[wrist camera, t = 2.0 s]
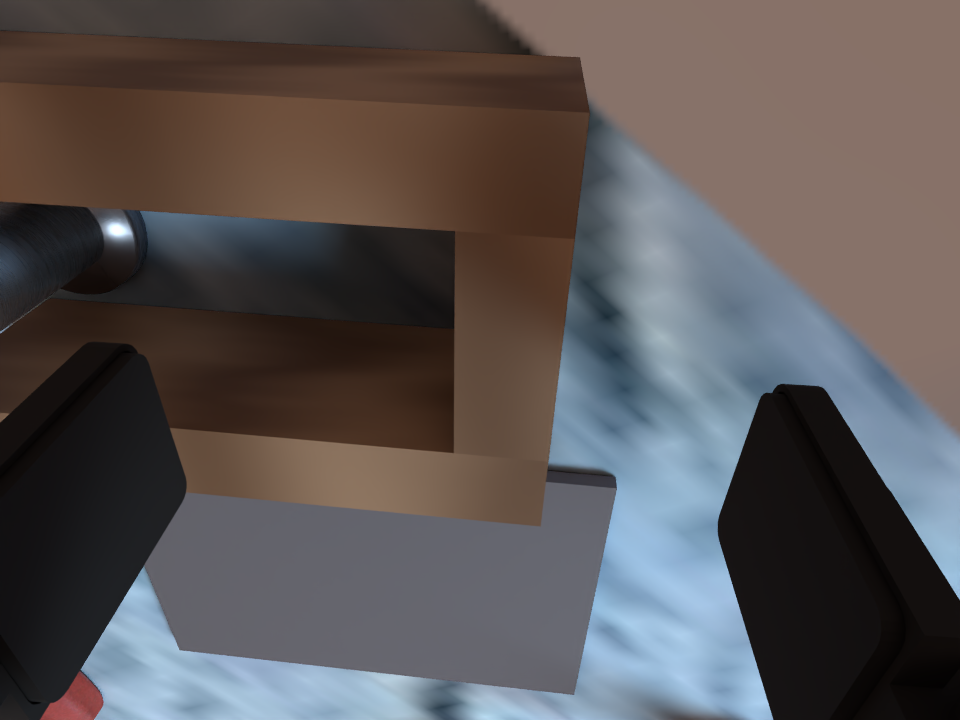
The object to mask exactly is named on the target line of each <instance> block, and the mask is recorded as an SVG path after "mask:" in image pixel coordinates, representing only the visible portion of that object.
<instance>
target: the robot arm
mask: <svg viewBox="0 0 960 720" xmlns="http://www.w3.org/2000/svg"><path fill="white" fill-rule="evenodd" d="M186 489H187V481H186V476H185V473H184V470H183V467H182V464H181V461H180V458H179V455H178V452H177V449H176V446H175V442H174V439H173V436H172V433H171V430H170V427H169V424H168V421H167V418H166V415H165V412H164V409H163V405H162V402H161V399H160V396H159V393H158V390H157V387H156V384H155V381H154V378H153V375H152V372H151V368H150V365H149V362H148V360H147V358H146V357H145V356H144V355H142V354H138V352H137V350H136V349H135V348H134V347H133V346H132V345H130V344H125V343H109V342H88V343H86V344H85V345H83V346H82V347H81V348H80V349H79V350H78V351H76V352H75V353H74V354H73V355H72V356H71V357H70V358H69V359H68V360H67V361H66V362H65V363H64V364H63V365H61V366H60V367H59V368H58V369H57V370H56V371H55V372H54V373H53V374H52V375H51V376H50V377H49V378H47V379H46V380H45V381H44V382H43V383H42V384H41V385H40V386H39V387H38V388H37V389H36V390H35V391H33V392H32V393H31V394H30V395H29V396H28V397H27V398H26V399H25V400H24V401H23V402H22V403H21V404H20V405H18V406H17V407H16V408H15V409H14V410H13V411H12V412H11V413H10V414H9V415H8V416H7V417H6V418H4V419H3V420H2V421H1V422H0V720H40V719H41V717H42V716H43V714H44V713H45V711H46V709H47V708H48V706H49V705H50V703H54V702H56V701H58V700H60V699H61V698H62V697H63V696H64V695H65V693H66V692H67V690H68V689H69V688H70V686H71V684H72V683H73V681H74V679H75V678H76V676H77V674H78V673H79V671H80V669H81V668H82V666H83V665H84V663H85V661H86V660H87V658H88V656H89V655H90V653H91V651H92V650H93V648H94V646H95V645H96V643H97V642H98V640H99V638H100V637H101V635H102V633H103V632H104V630H105V628H106V627H107V625H108V624H109V622H110V620H111V619H112V617H113V615H114V614H115V612H116V610H117V609H118V607H119V605H120V604H121V602H122V601H123V599H124V597H125V596H126V594H127V592H128V591H129V589H130V587H131V586H132V584H133V582H134V581H135V579H136V578H137V576H138V574H139V573H140V571H141V569H142V568H143V566H144V564H145V563H146V561H147V560H148V558H149V556H150V555H151V553H152V551H153V550H154V548H155V546H156V545H157V543H158V541H159V540H160V538H161V537H162V535H163V533H164V532H165V530H166V528H167V527H168V525H169V523H170V522H171V520H172V519H173V517H174V515H175V514H176V512H177V510H178V509H179V507H180V505H181V504H182V502H183V500H184V497H185V494H186ZM718 537H719V541H720V545H721V548H722V551H723V555H724V558H725V561H726V565H727V568H728V571H729V574H730V578H731V581H732V584H733V588H734V591H735V594H736V598H737V601H738V604H739V607H740V611H741V614H742V617H743V621H744V624H745V627H746V630H747V634H748V637H749V640H750V644H751V647H752V650H753V654H754V657H755V660H756V663H757V667H758V670H759V673H760V677H761V680H762V683H763V687H764V690H765V693H766V696H767V700H768V703H769V706H770V710H771V713H772V716H773V720H960V600H959V598H958V597H957V595H956V594H955V592H954V591H953V589H952V587H951V586H950V584H949V583H948V581H947V579H946V578H945V576H944V575H943V573H942V572H941V570H940V568H939V567H938V565H937V564H936V562H935V561H934V559H933V557H932V556H931V554H930V553H929V551H928V549H927V548H926V546H925V545H924V543H923V542H922V540H921V538H920V537H919V535H918V534H917V532H916V531H915V529H914V527H913V526H912V524H911V523H910V521H909V519H908V518H907V516H906V515H905V513H904V512H903V510H902V508H901V507H900V505H899V504H898V502H897V501H896V499H895V497H894V496H893V494H892V493H891V491H890V490H889V489H888V488H887V487H886V485H885V484H884V482H883V480H882V479H881V477H880V476H879V474H878V472H877V471H876V469H875V468H874V466H873V465H872V463H871V461H870V460H869V458H868V457H867V455H866V453H865V452H864V450H863V449H862V447H861V445H860V444H859V442H858V441H857V439H856V438H855V436H854V434H853V433H852V431H851V430H850V428H849V426H848V425H847V423H846V422H845V420H844V419H843V417H842V415H841V414H840V412H839V411H838V409H837V407H836V406H835V404H834V403H833V401H832V400H831V398H830V396H829V395H828V393H827V392H826V391H825V390H824V388H822V387H819V386H806V385H790V384H780V385H778V386H777V387H776V388H775V389H774V391H773V393H765V394H763V395H762V396H761V398H760V400H759V403H758V406H757V409H756V412H755V415H754V417H753V420H752V423H751V426H750V429H749V432H748V435H747V438H746V440H745V443H744V446H743V449H742V452H741V455H740V458H739V461H738V463H737V466H736V469H735V472H734V475H733V478H732V481H731V483H730V486H729V489H728V492H727V495H726V498H725V501H724V504H723V506H722V509H721V512H720V515H719V519H718Z"/></svg>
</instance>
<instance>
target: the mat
mask: <svg viewBox="0 0 960 720" xmlns="http://www.w3.org/2000/svg"><path fill="white" fill-rule="evenodd" d="M616 490H617V486H616V477H610V476H599V475H588V474H577V473H566V472H555V471H547V477H546V486H545V494H544V503H543V511H542V519H541V527H540V526H529V525H519V524H509V523H498V522H488V521H477V520H467V519H457V518H446V517H436V516H425V515H415V514H405V513H394V512H384V511H373V510H363V509H353V508H342V507H332V506H321V505H311V504H301V503H290V502H280V501H270V500H259V499H249V498H238V497H228V496H218V495H207V494H197V493H186V494H185V497H184V500H183V502H182V504H181V505H180V507H179V509H178V510H177V512H176V514H175V515H174V517H173V519H172V520H171V522H170V523H169V525H168V527H167V528H166V530H165V532H164V533H163V535H162V537H161V538H160V540H159V541H158V543H157V545H156V546H155V548H154V550H153V551H152V553H151V555H150V556H149V558H148V560H147V561H146V563H145V564H144V565H145V568H146V570H147V573H148V575H149V577H150V580H151V582H152V585H153V587H154V589H155V592H156V594H157V597H158V599H159V601H160V604H161V606H162V609H163V611H164V613H165V616H166V618H167V621H168V623H169V626H170V628H171V630H172V633H173V635H174V638H175V640H176V642H177V645H178V647H179V650H183V651H192V652H201V653H210V654H219V655H227V656H236V657H245V658H254V659H263V660H272V661H280V662H289V663H298V664H307V665H316V666H325V667H333V668H342V669H351V670H360V671H369V672H377V673H386V674H395V675H404V676H413V677H422V678H430V679H439V680H448V681H457V682H466V683H474V684H483V685H492V686H501V687H510V688H519V689H527V690H536V691H545V692H554V693H563V694H572V695H574V692H575V688H576V683H577V678H578V673H579V668H580V663H581V659H582V654H583V649H584V644H585V639H586V635H587V630H588V625H589V620H590V615H591V610H592V606H593V601H594V596H595V591H596V586H597V581H598V577H599V572H600V567H601V562H602V557H603V553H604V548H605V543H606V538H607V533H608V528H609V524H610V519H611V514H612V509H613V504H614V499H615V495H616Z"/></svg>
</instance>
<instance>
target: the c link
mask: <svg viewBox="0 0 960 720" xmlns="http://www.w3.org/2000/svg"><path fill="white" fill-rule="evenodd" d="M589 116H590V111H589V105H588V100H587V94H586V89H585V83H584V78H583V73H582V67H581V61H580V58H579V57H560V56H538V55H517V54H495V53H474V52H452V51H430V50H409V49H387V48H366V47H344V46H323V45H301V44H279V43H258V42H236V41H215V40H193V39H172V38H150V37H128V36H107V35H85V34H64V33H42V32H21V31H0V201H2V202H17V203H32V204H47V205H63V206H78V207H93V208H108V209H124V210H139V211H154V212H169V213H185V214H200V215H215V216H230V217H246V218H261V219H276V220H291V221H307V222H322V223H337V224H352V225H368V226H383V227H398V228H413V229H429V230H444V231H455V325H454V329H447V328H434V327H420V326H407V325H394V324H381V323H368V322H355V321H341V320H328V319H315V318H302V317H289V316H276V315H263V314H249V313H236V312H223V311H210V310H197V309H184V308H170V307H157V306H144V305H131V304H118V303H105V302H92V301H78V300H65V299H52V298H49V299H48V300H46V301H45V302H43V303H42V304H41V305H39V306H38V307H37V308H35V309H34V310H32V311H31V312H30V313H28V314H27V315H25V316H24V317H23V318H21V319H20V320H19V321H17V322H16V323H14V324H13V325H12V326H10V327H9V328H7V329H6V330H5V331H3V332H2V333H1V334H0V422H1V421H2V420H3V419H4V418H6V417H7V416H8V415H9V414H10V413H11V412H12V411H13V410H14V409H15V408H16V407H17V406H18V405H20V404H21V403H22V402H23V401H24V400H25V399H26V398H27V397H28V396H29V395H30V394H31V393H32V392H33V391H35V390H36V389H37V388H38V387H39V386H40V385H41V384H42V383H43V382H44V381H45V380H46V379H47V378H49V377H50V376H51V375H52V374H53V373H54V372H55V371H56V370H57V369H58V368H59V367H60V366H61V365H63V364H64V363H65V362H66V361H67V360H68V359H69V358H70V357H71V356H72V355H73V354H74V353H75V352H76V351H78V350H79V349H80V348H81V347H82V346H83V345H85V344H86V343H88V342H109V343H125V344H130V345H132V346H133V347H134V348H135V349H136V350H137V352H138V354H142V355H144V356H145V357H146V358H147V360H148V362H149V365H150V368H151V372H152V375H153V378H154V381H155V384H156V387H157V390H158V393H159V396H160V399H161V402H162V405H163V409H164V412H165V415H166V418H167V421H168V424H169V427H170V430H171V433H172V436H173V439H174V442H175V446H176V449H177V452H178V455H179V458H180V461H181V464H182V467H183V470H184V473H185V476H186V481H187V489H186V493H197V494H207V495H218V496H228V497H238V498H249V499H259V500H270V501H280V502H290V503H301V504H311V505H321V506H332V507H342V508H353V509H363V510H373V511H384V512H394V513H405V514H415V515H425V516H436V517H446V518H457V519H467V520H477V521H488V522H498V523H509V524H519V525H529V526H540V527H541V519H542V511H543V503H544V494H545V486H546V477H547V469H548V460H549V452H550V444H551V435H552V427H553V418H554V410H555V402H556V393H557V385H558V376H559V368H560V360H561V351H562V343H563V334H564V326H565V317H566V309H567V301H568V292H569V284H570V275H571V267H572V259H573V250H574V242H575V233H576V225H577V217H578V208H579V200H580V191H581V183H582V175H583V166H584V158H585V149H586V141H587V132H588V124H589Z"/></svg>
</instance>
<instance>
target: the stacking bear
mask: <svg viewBox="0 0 960 720" xmlns="http://www.w3.org/2000/svg"><path fill="white" fill-rule="evenodd" d="M102 706H103V698H102V695H101V693H100V692H99V690H98V689H97V688H96V687H95V686H94V684H93V683H92V682H91V681H90V680H89V679H88V678H87V677H86V676H85V675H84V674H83V673H82V672H81V671H79V673H78V674H77V676H76V678H75V679H74V681H73V683H72V684H71V686H70V688H69V689H68V690H67V692H66V693H65V695H64V696H63V697H62V698H61V699H60V700H58V701H56V702H54V703H50V705H49V706H48V708H47V709H46V711H45V713H44V714H43V716H42V717H41V719H40V720H94V719H95V717H96V715H97V714H98V713H99V711H100V710H101V708H102Z"/></svg>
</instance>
